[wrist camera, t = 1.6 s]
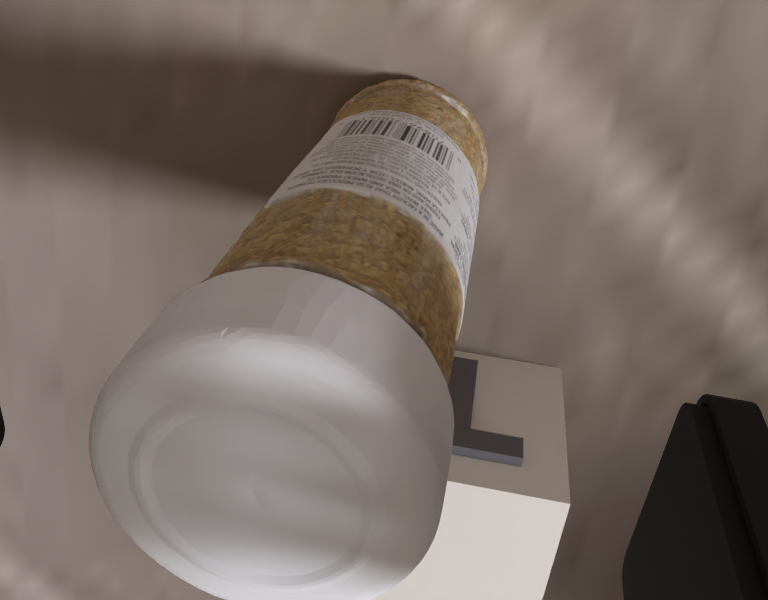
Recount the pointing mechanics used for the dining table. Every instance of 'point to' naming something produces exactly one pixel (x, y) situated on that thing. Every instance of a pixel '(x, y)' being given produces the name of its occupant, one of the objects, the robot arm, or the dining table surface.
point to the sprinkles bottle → (309, 370)
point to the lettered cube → (498, 486)
